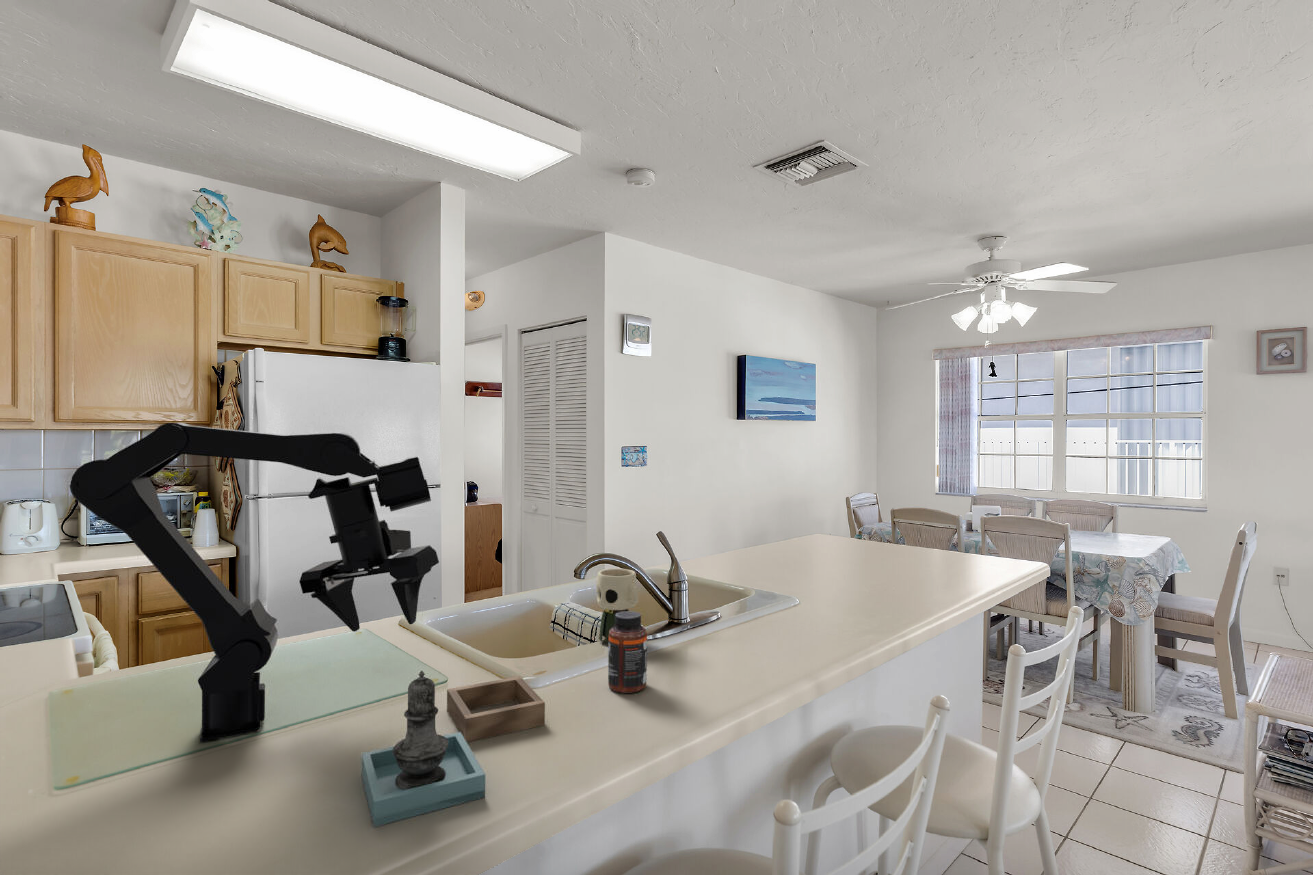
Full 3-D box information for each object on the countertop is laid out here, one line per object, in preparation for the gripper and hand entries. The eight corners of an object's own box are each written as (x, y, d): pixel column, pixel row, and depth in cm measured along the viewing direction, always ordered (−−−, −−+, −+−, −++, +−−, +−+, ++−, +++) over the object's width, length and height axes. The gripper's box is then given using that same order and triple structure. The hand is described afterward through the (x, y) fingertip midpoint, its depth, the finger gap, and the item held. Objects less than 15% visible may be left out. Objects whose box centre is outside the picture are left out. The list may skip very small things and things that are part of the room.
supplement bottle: (654, 687, 102) (655, 614, 102) (627, 698, 98) (628, 622, 97) (627, 676, 106) (628, 606, 106) (599, 686, 102) (601, 613, 101)
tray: (373, 826, 66) (374, 801, 65) (361, 774, 75) (361, 752, 75) (485, 796, 71) (485, 773, 71) (460, 752, 81) (460, 731, 81)
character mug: (582, 638, 124) (583, 570, 124) (610, 630, 129) (611, 565, 129) (621, 653, 117) (623, 580, 116) (650, 644, 122) (651, 574, 122)
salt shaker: (407, 798, 69) (408, 685, 69) (382, 777, 73) (383, 670, 73) (458, 777, 73) (459, 670, 73) (432, 758, 77) (433, 657, 77)
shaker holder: (465, 742, 83) (465, 718, 83) (446, 710, 92) (447, 689, 92) (544, 724, 88) (544, 702, 88) (519, 696, 98) (519, 676, 97)
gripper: (445, 496, 97) (470, 596, 99) (337, 515, 101) (363, 611, 103) (401, 517, 86) (430, 628, 88) (283, 537, 91) (313, 643, 92)
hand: (384, 626), depth 93 cm, fingers open, 9 cm apart
